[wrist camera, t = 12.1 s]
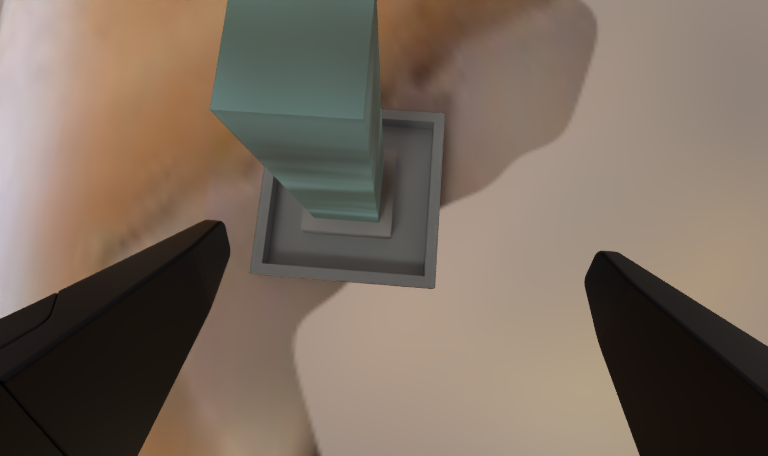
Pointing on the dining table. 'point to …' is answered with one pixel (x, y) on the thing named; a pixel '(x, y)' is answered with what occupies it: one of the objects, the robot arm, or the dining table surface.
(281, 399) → the dining table surface
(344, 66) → the teal green tall block
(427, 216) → the tray
